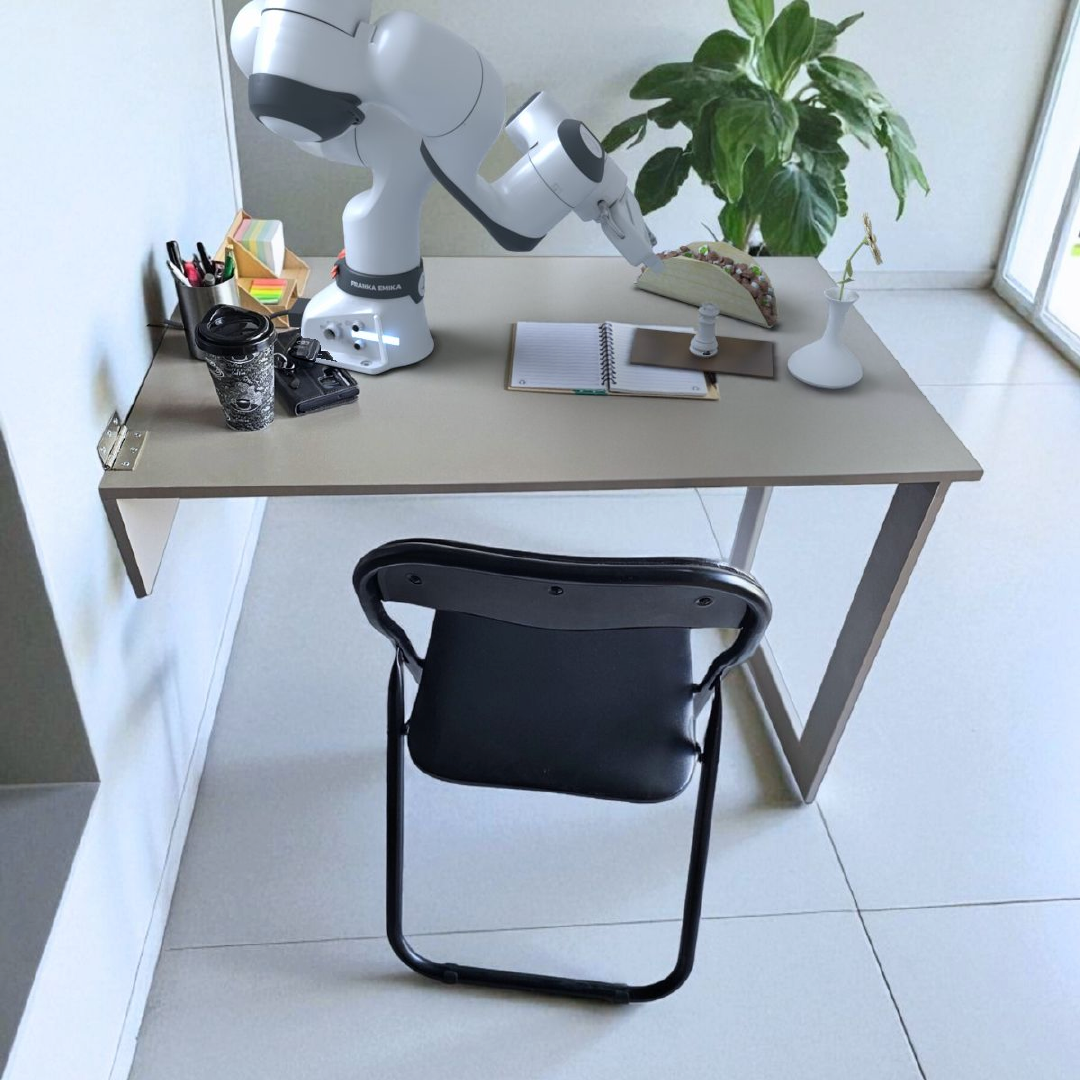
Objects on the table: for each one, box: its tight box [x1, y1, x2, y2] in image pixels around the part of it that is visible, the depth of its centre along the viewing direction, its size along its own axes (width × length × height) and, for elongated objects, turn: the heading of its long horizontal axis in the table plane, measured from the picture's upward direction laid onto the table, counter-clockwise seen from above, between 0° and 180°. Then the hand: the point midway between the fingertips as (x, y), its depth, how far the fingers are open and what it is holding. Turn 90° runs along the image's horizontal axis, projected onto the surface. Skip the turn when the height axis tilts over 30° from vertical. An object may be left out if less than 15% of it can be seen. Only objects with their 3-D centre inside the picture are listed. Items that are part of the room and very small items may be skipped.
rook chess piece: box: [690, 302, 721, 358], centre depth 163 cm, size 4×4×8 cm
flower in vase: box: [786, 211, 884, 390], centre depth 154 cm, size 13×11×25 cm
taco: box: [633, 240, 779, 329], centre depth 177 cm, size 10×27×10 cm, turn 56°
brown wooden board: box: [629, 327, 774, 380], centre depth 166 cm, size 22×12×1 cm, turn 81°
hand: (657, 256), depth 156 cm, fingers open, 8 cm apart
